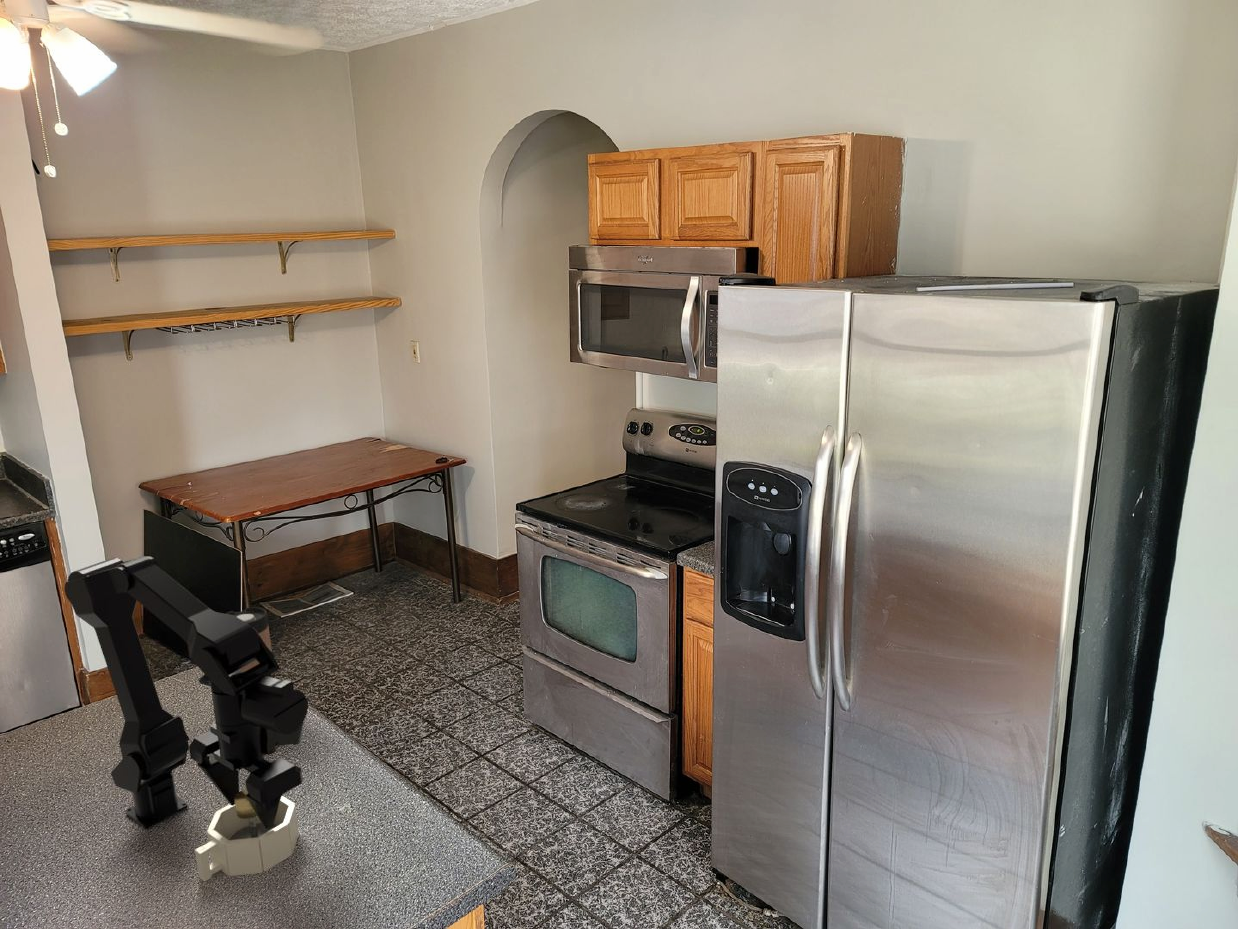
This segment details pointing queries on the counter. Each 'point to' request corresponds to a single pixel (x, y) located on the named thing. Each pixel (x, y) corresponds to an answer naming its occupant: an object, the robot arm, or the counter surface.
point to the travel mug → (259, 623)
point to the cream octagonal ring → (246, 843)
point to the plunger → (247, 812)
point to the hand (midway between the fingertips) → (251, 815)
